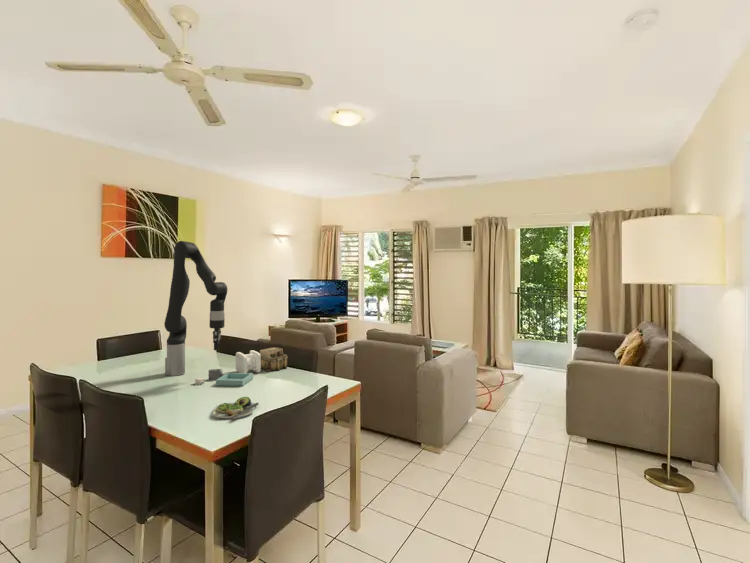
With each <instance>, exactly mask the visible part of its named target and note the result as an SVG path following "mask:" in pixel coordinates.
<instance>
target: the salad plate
mask: <svg viewBox="0 0 750 563" xmlns="http://www.w3.org/2000/svg"><path fill="white" fill-rule="evenodd" d="M257 406H259V402H255V403H254V402H252V400H251V398H250V397H249V396H242V397H239V398H238V399H236V401H235V402H224V403H220V404H218V405H216V406H215V407H214V409H213V411H212V412H211V416H212V417H213V418H215V419H217V420H236V419H238V420H239V419H241V418H244V417H248V416H250V415H252V414H253V413H254V411H255V408H256V407H257ZM219 413H220V414H227V416H221V415H219Z"/></svg>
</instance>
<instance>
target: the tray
mask: <svg viewBox="0 0 750 563" xmlns="http://www.w3.org/2000/svg"><path fill="white" fill-rule="evenodd" d="M252 380H254V373H250V372H249V373H248V372H247V373H239V372H227V373H226V374H225V375H222V377H220V378H218V379H217V380H215V386H217V387H244V386H246V385H247V384H249V382H252Z"/></svg>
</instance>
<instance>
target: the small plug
mask: <svg viewBox="0 0 750 563" xmlns="http://www.w3.org/2000/svg"><path fill="white" fill-rule="evenodd" d="M194 379H195V380H194V383H195V384H196V385H199V386H200V385H204V384H205V378H202V377H197V378H194Z"/></svg>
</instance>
